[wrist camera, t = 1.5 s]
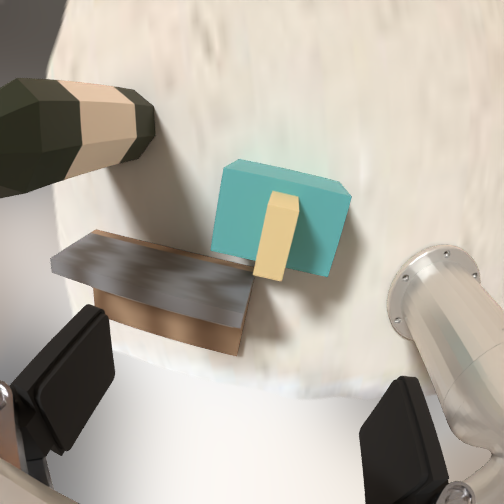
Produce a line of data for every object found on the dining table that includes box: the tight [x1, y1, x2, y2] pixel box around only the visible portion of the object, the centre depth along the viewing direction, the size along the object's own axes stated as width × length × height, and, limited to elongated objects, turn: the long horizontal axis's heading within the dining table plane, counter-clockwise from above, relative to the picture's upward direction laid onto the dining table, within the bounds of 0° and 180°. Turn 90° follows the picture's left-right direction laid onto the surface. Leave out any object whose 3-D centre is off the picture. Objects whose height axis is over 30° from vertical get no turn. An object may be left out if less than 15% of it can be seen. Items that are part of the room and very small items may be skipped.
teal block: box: [210, 159, 352, 281], centre depth 26 cm, size 10×7×12 cm
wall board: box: [50, 230, 255, 356], centre depth 32 cm, size 20×12×9 cm, turn 79°
